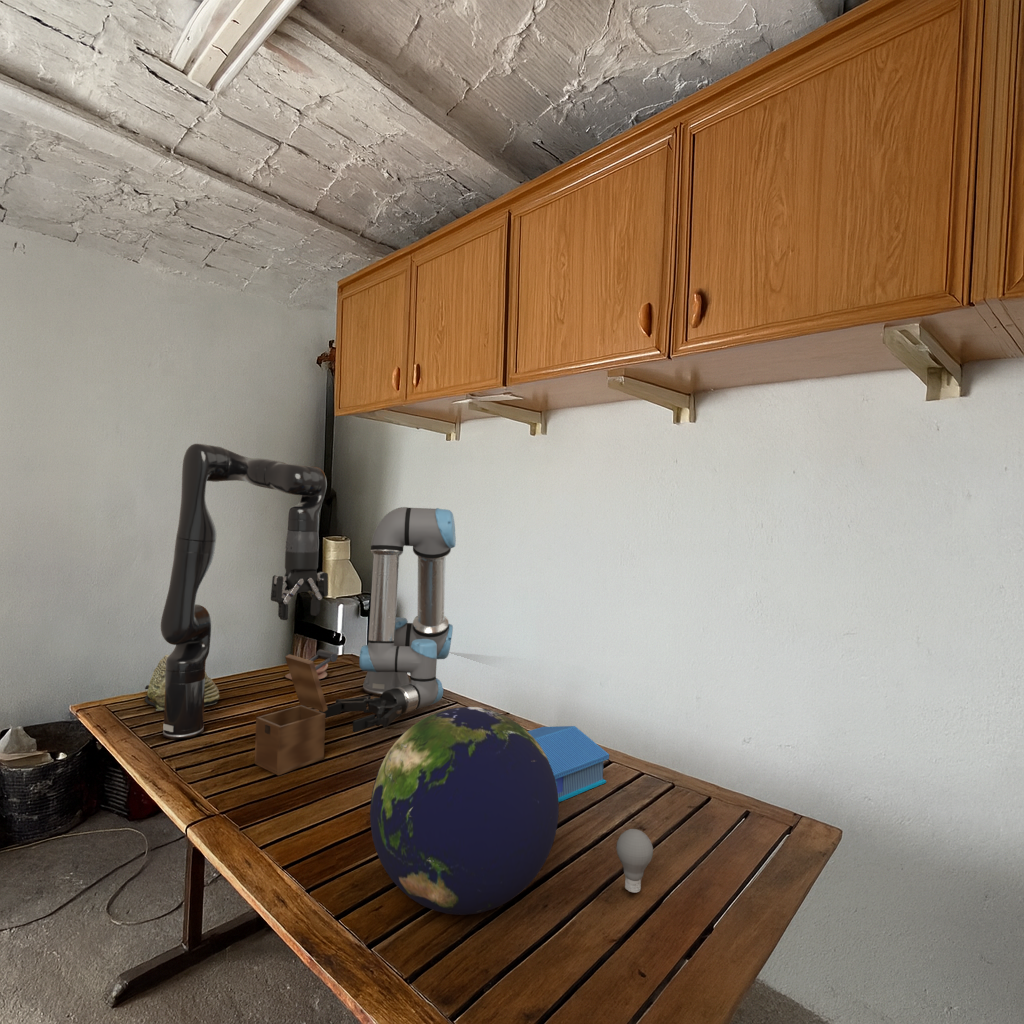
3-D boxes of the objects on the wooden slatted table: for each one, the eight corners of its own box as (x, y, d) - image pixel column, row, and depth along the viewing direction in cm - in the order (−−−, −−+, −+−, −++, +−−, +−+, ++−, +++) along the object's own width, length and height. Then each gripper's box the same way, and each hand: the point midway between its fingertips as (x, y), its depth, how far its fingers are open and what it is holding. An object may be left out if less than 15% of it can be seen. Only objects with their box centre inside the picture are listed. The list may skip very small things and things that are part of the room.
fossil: (144, 707, 182) (145, 655, 182) (212, 696, 194) (213, 647, 194) (151, 716, 175) (153, 662, 175) (221, 703, 188) (223, 653, 188)
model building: (485, 844, 118) (488, 791, 117) (412, 795, 136) (414, 749, 136) (617, 787, 144) (619, 743, 144) (541, 752, 162) (543, 713, 162)
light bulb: (610, 879, 108) (613, 822, 108) (644, 879, 109) (647, 822, 109) (619, 902, 102) (622, 840, 102) (655, 901, 103) (658, 840, 103)
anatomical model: (280, 667, 215) (298, 659, 227) (279, 678, 215) (297, 670, 227) (316, 671, 213) (332, 662, 224) (315, 682, 213) (332, 673, 224)
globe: (325, 925, 94) (333, 724, 93) (426, 831, 121) (433, 676, 121) (512, 993, 82) (522, 765, 82) (577, 872, 110) (584, 701, 110)
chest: (278, 775, 143) (280, 727, 143) (254, 763, 148) (256, 717, 148) (324, 758, 153) (325, 713, 153) (299, 748, 158) (301, 704, 158)
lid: (309, 664, 148) (339, 644, 155) (284, 656, 154) (314, 638, 161) (323, 712, 152) (352, 691, 159) (299, 703, 158) (328, 683, 165)
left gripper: (285, 552, 143) (282, 623, 143) (336, 549, 154) (333, 616, 154) (265, 549, 147) (263, 619, 147) (317, 547, 159) (314, 611, 159)
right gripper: (429, 725, 171) (368, 747, 154) (368, 704, 186) (306, 722, 169) (430, 697, 171) (369, 717, 154) (369, 678, 186) (307, 694, 169)
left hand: (299, 617), depth 151 cm, fingers open, 8 cm apart
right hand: (336, 720), depth 161 cm, fingers open, 13 cm apart
